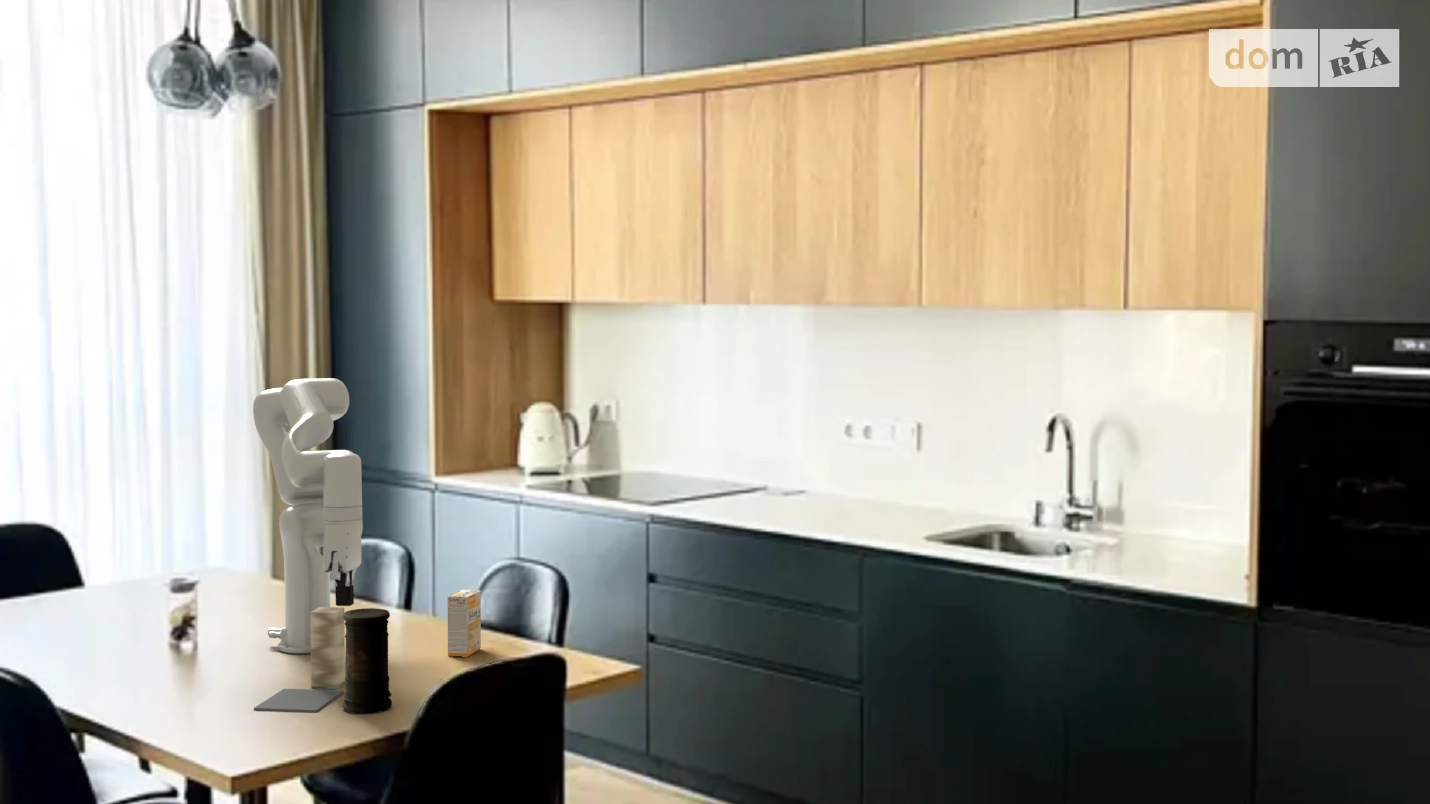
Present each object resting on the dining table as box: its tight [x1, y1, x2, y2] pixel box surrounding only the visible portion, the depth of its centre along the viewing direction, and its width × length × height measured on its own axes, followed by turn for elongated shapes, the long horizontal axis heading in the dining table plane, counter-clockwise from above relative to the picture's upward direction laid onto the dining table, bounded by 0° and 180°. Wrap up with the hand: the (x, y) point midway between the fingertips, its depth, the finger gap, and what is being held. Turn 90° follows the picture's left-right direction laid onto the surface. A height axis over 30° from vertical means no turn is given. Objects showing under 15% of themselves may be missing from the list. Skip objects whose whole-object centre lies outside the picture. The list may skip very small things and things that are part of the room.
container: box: [341, 607, 393, 715], centre depth 275 cm, size 9×9×18 cm
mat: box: [253, 688, 345, 713], centre depth 279 cm, size 12×14×1 cm
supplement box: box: [447, 589, 482, 658], centre depth 318 cm, size 8×5×13 cm, turn 168°
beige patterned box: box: [310, 606, 346, 690], centre depth 291 cm, size 5×5×15 cm
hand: (344, 605), depth 299 cm, fingers closed
